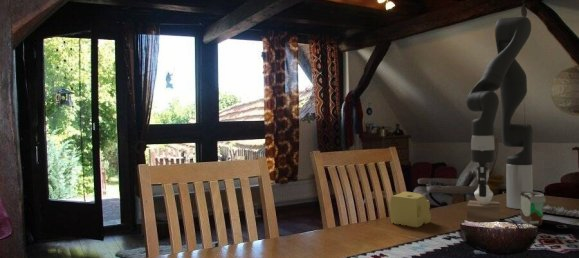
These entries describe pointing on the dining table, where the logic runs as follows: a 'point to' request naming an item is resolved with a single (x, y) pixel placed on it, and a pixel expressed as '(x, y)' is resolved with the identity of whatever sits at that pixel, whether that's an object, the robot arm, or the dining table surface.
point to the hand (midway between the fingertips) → (483, 194)
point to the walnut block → (482, 211)
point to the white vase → (486, 199)
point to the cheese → (410, 209)
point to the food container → (532, 207)
